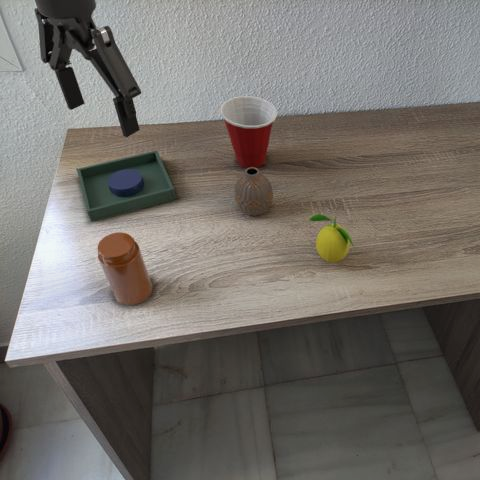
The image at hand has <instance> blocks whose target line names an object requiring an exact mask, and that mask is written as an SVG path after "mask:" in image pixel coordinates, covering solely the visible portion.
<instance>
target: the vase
mask: <svg viewBox="0 0 480 480" xmlns="http://www.w3.org/2000/svg"><path fill="white" fill-rule="evenodd" d="M233 194H234V201H235V203H236V206H238V208H239V210H240V211H241V212H243V213H244V214H245V215H248V216H253V217H255V216H260V215H263V214H265V213H266V212H267V211H268V210H269V209H270V208H271V206H272V203H273V199H274V190H273V186H272V183H271V181H270V180H269V178H268V177H267V176H265V174H263V173H262V172H261V171H260V170H259V168H258V167H257V168H255V167H249V168H245V170H244V172H243V173H242V174H241V176H239V178H238V179H237V181H236V183H235V185H234V191H233Z"/></svg>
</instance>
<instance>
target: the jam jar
mask: <svg viewBox="0 0 480 480" xmlns="http://www.w3.org/2000/svg"><path fill="white" fill-rule="evenodd" d="M97 259H98V262H99V264H100V266H101V268H102V271H103V273H104V275H105V277H106V280H107V282H108V284H109V286H110V289H111V291H112V293H113V295H114V298H115V299H116V301H117V302H118V303H120V304H121V305H125V306H134V305H135V306H136V305H139V304H141V303H143V302H144V301H146V300H147V299H148V298H149V297H150V296H151V295H152V292H153V287H154V286H153V283H152V280H151V277H150V274H149V272H148V269H147V266H146V262H145V260H144V257H143V255H142V251H141V248H140V246H139V243H137V242H136V240H135V238H134V237H133V236H132V235H131V234H129V233H126V232H120V231H119V232H118V231H117V232H112V233H110V234H108V235H105V236H104V237H103V238H101V240H100V241H99V242H98V243H97Z"/></svg>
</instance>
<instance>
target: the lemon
mask: <svg viewBox="0 0 480 480" xmlns="http://www.w3.org/2000/svg"><path fill="white" fill-rule="evenodd" d="M308 221H309V222H323V221H326V222H327V221H328V222H329V221H330V222H332V218H330V217H328V216H326V215H325V214H321V213H318V214H317V213H316V214H314V215H312V216H311V217H310V218H309V220H308ZM336 222H337V215H335V216H334V218H333V223H329V224H327V225H325V226H323V227H322V228H321V229H320V231H319V232H318V234H317V237H316V241H315V247H316V248H315V249H316V251H317V254H318V255H319V256H320V258H322V259H323V260H324V261H326V262H328V263H338V262H340V261H342V260H343V259H344V258H345V257H346V256H347V255H348V254H349V251H350V246H352V247H353V249H355V245H354V242H353V240H352V238H351V236H350V234H349V232H348V231H347V230H346V229H345V227H343V226H341V225H340V224H337V223H336Z"/></svg>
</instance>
